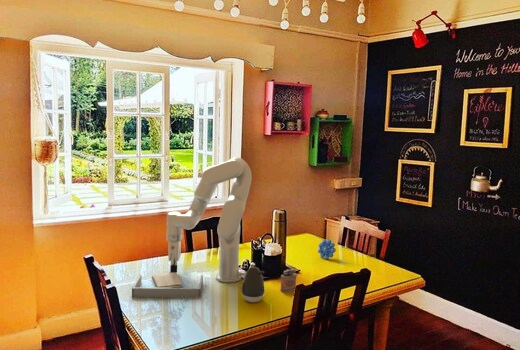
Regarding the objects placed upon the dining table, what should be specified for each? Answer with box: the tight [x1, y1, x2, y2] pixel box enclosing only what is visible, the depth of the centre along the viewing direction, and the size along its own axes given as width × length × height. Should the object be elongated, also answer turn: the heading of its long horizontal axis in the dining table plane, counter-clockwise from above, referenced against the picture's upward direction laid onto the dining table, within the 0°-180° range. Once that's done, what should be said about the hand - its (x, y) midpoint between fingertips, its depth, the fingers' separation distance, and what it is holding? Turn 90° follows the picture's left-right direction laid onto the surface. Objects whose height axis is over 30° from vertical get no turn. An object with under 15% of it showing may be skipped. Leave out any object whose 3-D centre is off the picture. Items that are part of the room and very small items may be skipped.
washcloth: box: [151, 272, 183, 288], centre depth 207 cm, size 12×18×3 cm, turn 23°
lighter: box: [279, 268, 298, 293], centre depth 203 cm, size 8×3×10 cm, turn 117°
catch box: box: [131, 274, 204, 299], centre depth 199 cm, size 30×16×4 cm, turn 93°
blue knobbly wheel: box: [317, 238, 337, 260], centre depth 249 cm, size 12×7×12 cm, turn 48°
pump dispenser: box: [240, 266, 266, 303], centre depth 191 cm, size 10×10×15 cm
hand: (173, 272), depth 218 cm, fingers closed
